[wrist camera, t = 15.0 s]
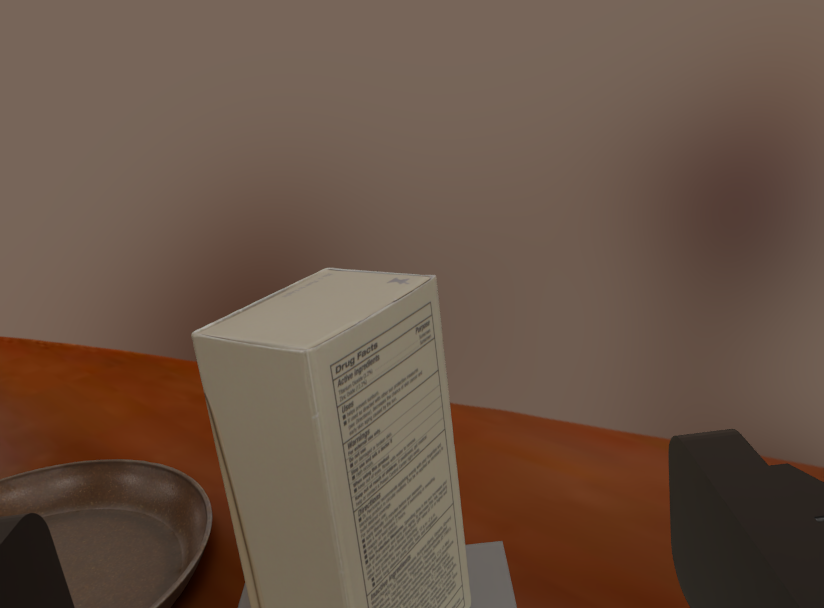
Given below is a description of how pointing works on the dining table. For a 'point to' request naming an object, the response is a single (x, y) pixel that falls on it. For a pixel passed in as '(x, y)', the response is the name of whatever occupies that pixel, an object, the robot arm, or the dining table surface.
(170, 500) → the plant saucer
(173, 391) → the dining table surface
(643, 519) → the dining table surface
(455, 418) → the dining table surface
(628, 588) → the dining table surface
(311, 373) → the skincare box
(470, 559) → the block
